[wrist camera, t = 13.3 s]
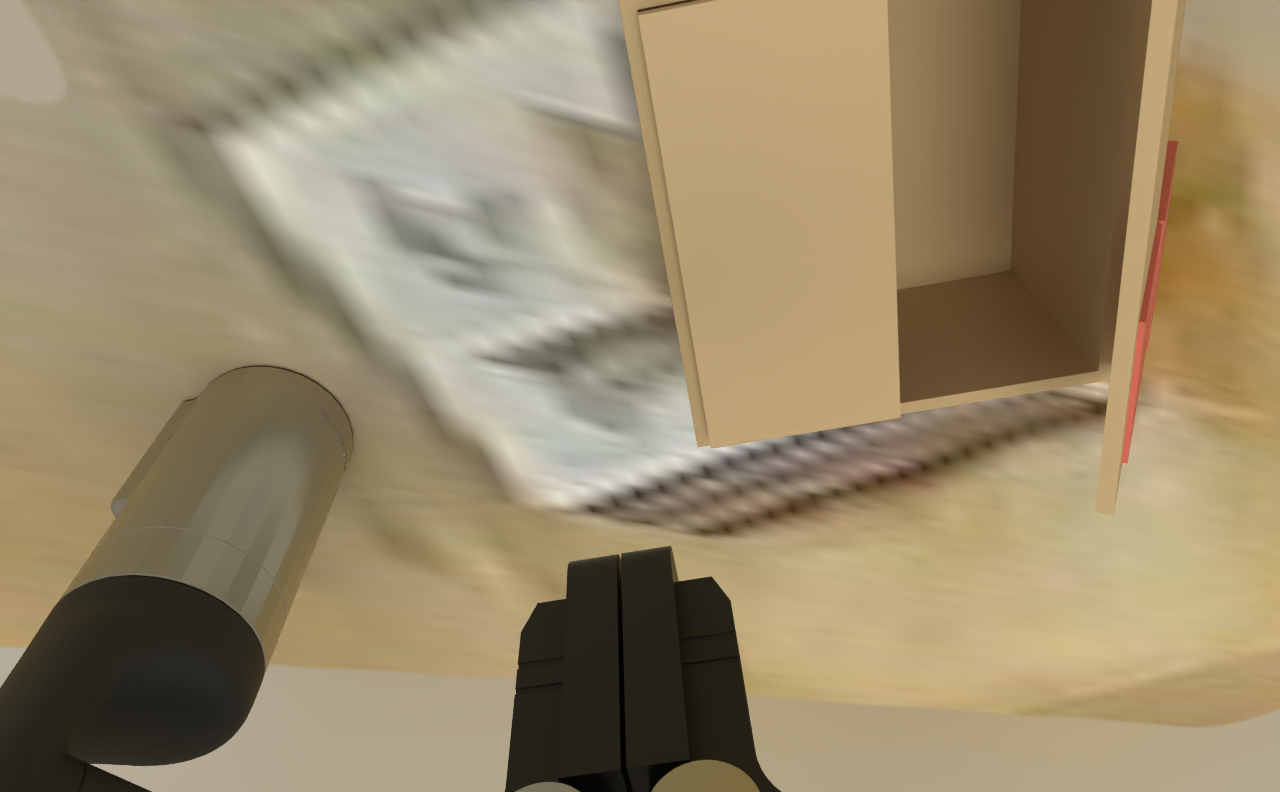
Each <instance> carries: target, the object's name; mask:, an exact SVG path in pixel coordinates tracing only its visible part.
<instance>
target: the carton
mask: <svg viewBox="0 0 1280 792" xmlns="http://www.w3.org/2000/svg"><path fill="white" fill-rule="evenodd" d="M618 1H619V7H620V12H621V18H622V24H623V29H624V35H625V41H626V46H627V52H628V57H629V63H630V69H631V74H632V80H633V86H634V91H635V97H636V103H637V108H638V114H639V119H640V125H641V131H642V136H643V142H644V148H645V153H646V159H647V164H648V170H649V176H650V181H651V187H652V193H653V198H654V204H655V210H656V215H657V221H658V226H659V232H660V238H661V243H662V249H663V255H664V260H665V266H666V271H667V277H668V283H669V288H670V294H671V300H672V305H673V311H674V317H675V322H676V328H677V333H678V339H679V345H680V350H681V356H682V362H683V367H684V373H685V378H686V384H687V390H688V395H689V401H690V407H691V412H692V418H693V424H694V429H695V435H696V440H697V446H698V447H702V446H708V445H710V446H711V448H717V447H724V446H730V445H736V444H742V443H748V442H754V441H760V440H767V439H773V438H779V437H785V436H791V435H797V434H803V433H810V432H816V431H822V430H828V429H834V428H840V427H847V426H853V425H859V424H865V423H871V422H877V421H883V420H890V419H896V418H901V414H905V413H911V412H917V411H923V410H929V409H935V408H941V407H947V406H954V405H960V404H966V403H972V402H978V401H984V400H990V399H997V398H1003V397H1009V396H1015V395H1021V394H1027V393H1033V392H1040V391H1046V390H1052V389H1058V388H1064V387H1070V386H1076V385H1082V384H1089V383H1095V382H1101V381H1107V380H1110V376H1111V367H1112V358H1113V349H1114V340H1115V331H1116V322H1117V313H1118V304H1119V295H1120V286H1121V277H1122V268H1123V259H1124V250H1125V241H1126V232H1127V223H1128V214H1129V205H1130V196H1131V187H1132V178H1133V169H1134V160H1135V151H1136V142H1137V133H1138V124H1139V115H1140V106H1141V97H1142V88H1143V79H1144V70H1145V61H1146V52H1147V43H1148V34H1149V25H1150V16H1151V7H1152V0H618Z"/></svg>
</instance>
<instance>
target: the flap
mask: <svg viewBox="0 0 1280 792" xmlns="http://www.w3.org/2000/svg"><path fill="white" fill-rule="evenodd" d="M1185 3H1186V0H1152V7H1151V16H1150V25H1149V34H1148V43H1147V52H1146V61H1145V70H1144V79H1143V88H1142V97H1141V106H1140V115H1139V124H1138V133H1137V142H1136V151H1135V160H1134V169H1133V178H1132V187H1131V196H1130V205H1129V214H1128V223H1127V232H1126V241H1125V250H1124V259H1123V268H1122V277H1121V286H1120V295H1119V304H1118V313H1117V322H1116V331H1115V340H1114V349H1113V358H1112V367H1111V376H1110V385H1109V394H1108V403H1107V412H1106V421H1105V430H1104V439H1103V448H1102V457H1101V466H1100V475H1099V484H1098V493H1097V501H1096V510H1095V512H1098V513H1104V514H1110V515H1113V514H1114V508H1115V503H1116V497H1117V491H1118V485H1119V479H1120V473H1121V468H1122V463H1127V462H1128V456H1129V450H1130V444H1131V438H1132V431H1133V425H1134V419H1135V413H1136V407H1137V401H1138V395H1139V389H1140V383H1141V377H1142V371H1143V365H1144V359H1145V352H1146V349H1147V348H1148V342H1149V336H1150V330H1151V324H1152V318H1153V312H1154V305H1155V299H1156V293H1157V287H1158V281H1159V275H1160V269H1161V262H1162V256H1163V249H1164V241H1165V234H1166V226H1167V219H1168V212H1169V204H1170V197H1171V189H1172V182H1173V175H1174V167H1175V160H1176V153H1177V145H1178V141H1168V134H1169V127H1170V119H1171V111H1172V104H1173V96H1174V88H1175V80H1176V73H1177V65H1178V57H1179V49H1180V42H1181V34H1182V26H1183V19H1184V11H1185Z"/></svg>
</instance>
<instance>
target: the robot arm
mask: <svg viewBox="0 0 1280 792" xmlns="http://www.w3.org/2000/svg"><path fill="white" fill-rule="evenodd" d="M352 447H353V438H352V430H351V427H350V424H349V420H348V418H347V416H346V415H345V413H344V411H343V409H342V407H341V406H340V405H339V404H338V403H337V402H336V400H335V399H334V398H333V397H332V396H331V395H330V394H329V393H328V392H327V391H325V390H324V389H323V388H322V387H320V386H319V385H318V384H316V383H314V382H312V381H311V380H309V379H307V378H305V377H303V376H301V375H298V374H296V373H293V372H290V371H287V370H283V369H277V368H272V367H248V368H242V369H237V370H234V371H231V372H229V373H226V374H224V375H221V376H220V377H219V378H217V379H216V380H214V381H213V382H212V383H210V384H209V385H208V387H207V388H206V389H205V390H204V391H203V393H202V394H201V395H200V396H199V397H198V398H197V399H194V400H191V401H185V402H182V403H181V405H180V406H179V407H178V409H177V410H176V412H175V413H174V414H173V416H172V417H171V419H170V420H169V421H168V423H167V424H166V426H165V427H164V428H163V430H162V431H161V433H160V434H159V435H158V437H157V438H156V440H155V441H154V442H153V444H152V445H151V447H150V448H149V449H148V451H147V452H146V454H145V455H144V456H143V458H142V459H141V461H140V462H139V463H138V465H137V466H136V468H135V469H134V470H133V472H132V473H131V475H130V476H129V477H128V479H127V480H126V482H125V483H124V484H123V486H122V487H121V489H120V490H119V491H118V493H117V494H116V496H115V497H114V499H113V501H112V503H111V510H112V512H113V514H114V516H115V517H116V518H115V520H114V521H113V523H112V524H111V526H110V527H109V529H108V530H107V531H106V533H105V534H104V536H103V537H102V539H101V540H100V542H99V543H98V545H97V546H96V547H95V549H94V550H93V552H92V553H91V555H90V557H89V558H88V559H87V561H86V562H85V564H84V565H83V567H82V568H81V570H80V571H79V573H78V574H77V575H76V577H75V578H74V580H73V581H72V583H71V584H70V586H69V587H68V589H67V590H66V591H65V593H64V594H63V596H62V597H61V599H60V600H59V602H58V603H57V604H56V606H55V607H54V608H53V610H52V611H51V613H50V614H49V616H48V617H47V619H46V620H45V622H44V623H43V625H42V626H41V628H40V629H39V631H38V632H37V634H36V635H35V637H34V638H33V640H32V641H31V643H30V645H29V646H28V648H27V649H26V651H25V652H24V654H23V655H22V657H21V658H20V660H19V661H18V663H17V664H16V666H15V667H14V669H13V670H12V671H11V673H10V674H9V676H8V677H7V679H6V680H5V682H4V683H3V685H2V686H1V688H0V792H151V791H149V790H147V789H144V788H142V787H140V786H138V785H135V784H133V783H131V782H129V781H126V780H124V779H122V778H120V777H117V776H115V775H113V774H110V773H108V772H106V771H104V770H102V769H99V768H97V767H95V766H92V765H90V764H114V765H131V766H154V765H155V766H157V765H167V764H174V763H180V762H184V761H188V760H192V759H195V758H197V757H200V756H203V755H206V754H208V753H210V752H212V751H214V750H215V749H217V748H219V747H220V746H222V745H223V744H225V743H226V742H227V741H228V740H230V739H231V738H232V737H233V736H234V734H236V732H237V731H238V730H239V729H240V727H241V726H242V725H243V723H244V722H245V720H246V718H247V716H248V714H249V712H250V710H251V708H252V706H253V704H254V701H255V699H256V696H257V693H258V691H259V688H260V686H261V683H262V680H263V677H264V674H265V672H266V669H267V667H268V664H269V662H270V659H271V657H272V654H273V651H274V649H275V646H276V644H277V641H278V639H279V636H280V634H281V631H282V629H283V626H284V623H285V621H286V618H287V616H288V613H289V610H290V608H291V605H292V603H293V600H294V598H295V595H296V593H297V590H298V588H299V585H300V583H301V580H302V578H303V575H304V573H305V570H306V568H307V565H308V563H309V560H310V558H311V555H312V553H313V550H314V548H315V545H316V543H317V540H318V537H319V535H320V532H321V530H322V527H323V525H324V522H325V520H326V517H327V515H328V512H329V510H330V507H331V505H332V502H333V500H334V497H335V495H336V492H337V490H338V487H339V485H340V482H341V480H342V477H343V475H344V472H345V469H346V467H347V464H348V462H349V459H350V456H351V451H352ZM518 666H519V669H517V678H516V695H515V699H514V709H513V720H512V729H511V740H510V751H509V760H508V770H507V780H506V789H505V792H781V791H779V789H777V788H776V787H774V785H773V784H772V783H771V782H770V781H769V780H768V779H767V777H766V776H765V774H764V773H763V771H762V770H761V768H760V765H759V763H758V761H757V757H756V753H755V746H754V740H753V735H752V728H751V722H750V717H749V710H748V704H747V697H746V691H745V685H744V679H743V673H742V667H741V661H740V655H739V649H738V643H737V637H736V631H735V625H734V619H733V613H732V607H731V601H730V599H729V598H728V597H727V596H726V594H725V593H724V592H723V590H722V589H721V588H720V587H719V585H718V584H717V583H716V581H715V580H714V579H713V578H712V577H706V578H699V579H692V580H686V581H678V576H677V571H676V566H675V562H674V557H673V552H672V548H671V546H667V547H661V548H654V549H648V550H641V551H635V552H629V553H622V555H621V559H620V556H619V555H618V554H617V555H611V556H604V557H598V558H591V559H585V560H578V561H572V562H569V564H568V571H567V593H566V599H563V600H556V601H549V602H543V603H538V604H537V606H536V607H535V609H534V611H533V613H532V614H531V616H530V618H529V620H528V621H527V623H526V625H525V626H524V628H523V630H522V632H521V638H520V648H519V658H518Z"/></svg>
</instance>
